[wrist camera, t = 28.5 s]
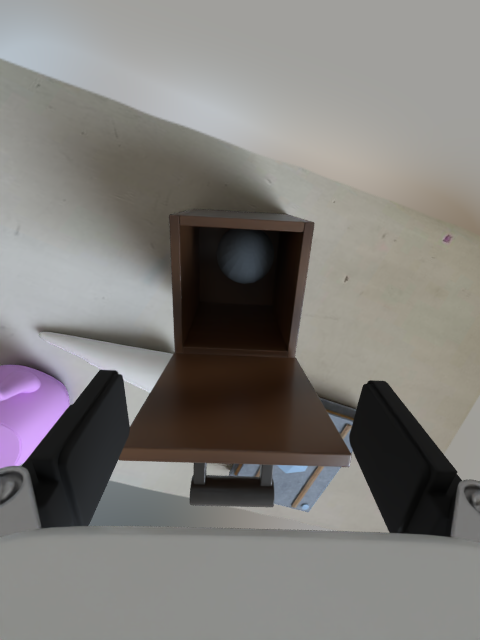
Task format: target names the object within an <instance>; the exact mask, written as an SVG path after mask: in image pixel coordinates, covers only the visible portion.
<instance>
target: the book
mask: <svg viewBox="0 0 480 640" xmlns="http://www.w3.org/2000/svg"><path fill="white" fill-rule="evenodd" d="M319 399H320V400H321V402H322V404H323V406H324V407H325V409H326V411H327V413H328V414H329V416H330V418H331V419H332V421H333V423H334V425H335V426H336V428H337V430H338V432H339V433H340V435H341V437H342V439H343V440H344V442H345V444H346V445H347V447H348V449H349V451H350V452H351V453H352V451H353V450H352V448H351V445H350V442H349V435H350V431H351V427H352V424H353V420H354V417H355V413H356V409H354V408H350V407H347V406H344V405H341V404H338V403H335V402H332V401H329V400H326V399H323V398H320V397H319ZM340 468H341V467H327V466H293V465H274V466H273V477H272V478H273V481H274V493H275V498H274V504H278V505H282V506H286V507H290V508H294V509H298V510H302V511H305V512H309V511H310V509H311V508H312V506H313V505H314V504H315V502H316V501H317V500H318V498H319V497H320V495H321V494H322V493H323V491H324V490H325V489H326V487H327V486H328V484H329V483H330V482H331V480H332V479H333V478H334V476H335V475H336V473H337V472H338V471H339V469H340ZM229 476H250V477H259V476H260V465H259V464H234V465H233V467H232V469H231V471H230V472H229Z"/></svg>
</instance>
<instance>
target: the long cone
mask: <svg viewBox="0 0 480 640" xmlns="http://www.w3.org/2000/svg"><path fill="white" fill-rule="evenodd" d="M39 337H40V338H41V339H43V340H44V341H46V342H48V343H50V344H52V345H54V346H56V347H59V348H61V349H63V350H65V351H67V352H69V353H72V354H74V355H76V356H78V357H80V358H82V359H84V360H86V361H87V363H89V364H91V365H93V366H95V367H97V368H99V369H101V370H116V371H117V372H118V374H121V375H122V376H123V380H124V381H126V382H128V383H130V384H132V385H135V386H137V387H139V388H141V389H143V390H145V391H147V392H149V393H150V392H151V391H152V389H153V387H154V386H155V384H156V382H157V381H158V379H159V377H160V376H161V374H162V372H163V371H164V369H165V367H166V366H167V364H168V362H169V360H170V359H171V357H172V355H173V354H171V353H166V352H160V351H154V350H148V349H143V348H138V347H132V346H126V345H121V344H115V343H110V342H104V341H99V340H93V339H88V338H82V337H77V336H71V335H65V334H59V333H53V332H41V333H39Z"/></svg>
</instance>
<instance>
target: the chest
mask: <svg viewBox="0 0 480 640" xmlns="http://www.w3.org/2000/svg"><path fill="white" fill-rule="evenodd" d="M169 220H170V245H171V269H172V294H173V318H174V343H175V353H189V354H213V355H238V356H262V357H287V358H295V353H296V346H297V340H298V333H299V326H300V319H301V312H302V305H303V299H304V292H305V285H306V278H307V271H308V264H309V258H310V251H311V244H312V237H313V230H314V222H311V221H308V220H304V219H301V218H298V217H294V216H291V215H288V214H276V213H259V212H241V211H223V210H205V209H192V210H187V211H183V212H179V213H175V214H170V215H169ZM231 228H234V229H252V230H263V231H264V232H265V233H266V234H267V235H268V236H269V238H270V240H271V242H272V244H273V249H274V259H273V264H272V266H271V268H270V270H269V272H268V273H267V274H266V275H265V276H264V277H263V278H262V279H260V280H258V281H256V282H254V283H246V284H243V283H237V282H235V281H233V280H231V279H229V278H228V277H227V276H226V275H225V274H224V273H223V272H222V271H221V269H220V267H219V265H218V260H217V248H218V244H219V242H220V240H221V238H222V236H223V235H224V234H225V233H226V232H228V231H229V230H230V229H231Z"/></svg>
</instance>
